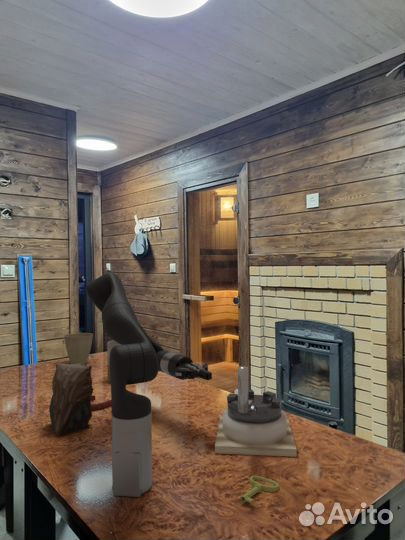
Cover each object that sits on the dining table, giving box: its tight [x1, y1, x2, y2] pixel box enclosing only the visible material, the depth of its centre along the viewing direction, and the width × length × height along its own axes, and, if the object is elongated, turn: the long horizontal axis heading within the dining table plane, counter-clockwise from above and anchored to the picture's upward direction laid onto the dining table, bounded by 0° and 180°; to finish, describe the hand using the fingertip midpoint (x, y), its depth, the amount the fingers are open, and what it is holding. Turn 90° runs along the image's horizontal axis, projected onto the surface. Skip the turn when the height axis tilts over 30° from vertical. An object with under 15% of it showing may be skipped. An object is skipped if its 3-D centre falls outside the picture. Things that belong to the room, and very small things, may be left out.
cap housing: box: [222, 407, 288, 445], centre depth 118 cm, size 19×19×5 cm
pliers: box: [90, 394, 112, 412], centre depth 143 cm, size 12×21×3 cm, turn 146°
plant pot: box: [63, 332, 94, 366], centre depth 212 cm, size 15×15×16 cm
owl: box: [48, 362, 94, 438], centre depth 129 cm, size 13×13×20 cm
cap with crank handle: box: [226, 365, 283, 424], centre depth 117 cm, size 16×21×17 cm
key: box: [240, 475, 280, 504], centre depth 89 cm, size 7×12×2 cm, turn 161°
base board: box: [214, 415, 298, 458], centre depth 118 cm, size 22×22×2 cm
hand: (210, 376), depth 116 cm, fingers closed
